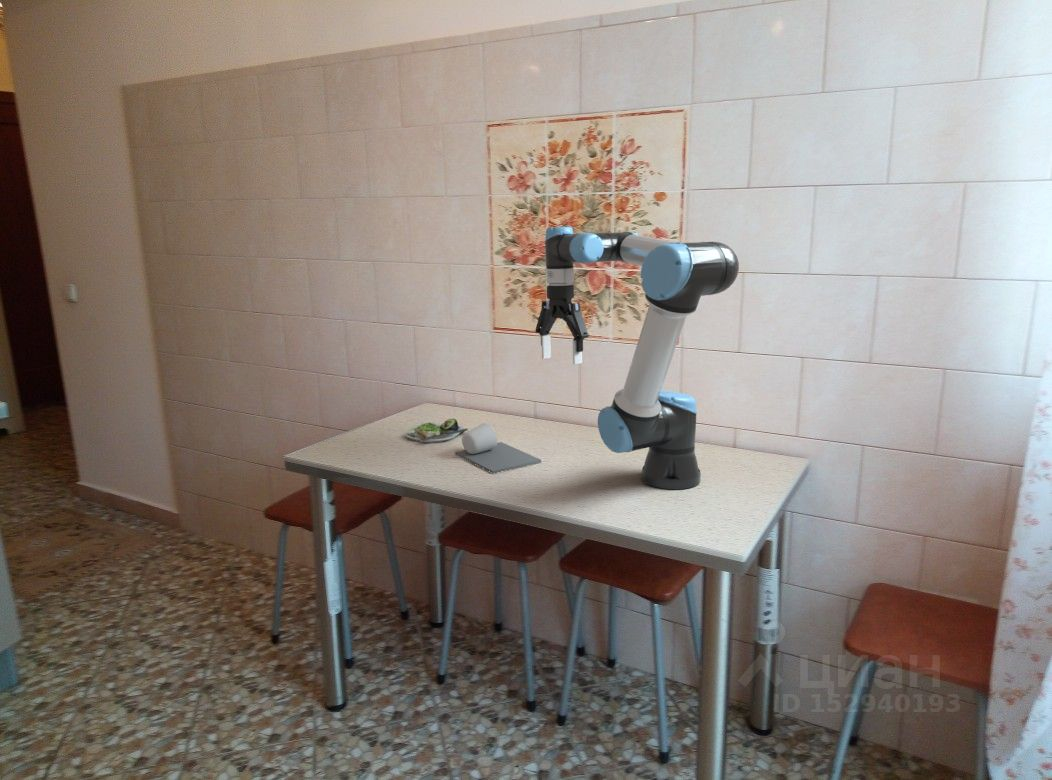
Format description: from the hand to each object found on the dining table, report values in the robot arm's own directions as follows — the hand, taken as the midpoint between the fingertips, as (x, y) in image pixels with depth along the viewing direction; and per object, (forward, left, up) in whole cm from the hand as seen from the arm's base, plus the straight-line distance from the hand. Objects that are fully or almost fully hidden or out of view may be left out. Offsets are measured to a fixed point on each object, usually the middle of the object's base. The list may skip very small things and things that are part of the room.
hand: (561, 360), depth 205 cm
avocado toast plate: (+41, +19, -29) cm, 54 cm away
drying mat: (+10, +16, -28) cm, 34 cm away
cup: (+16, +23, -25) cm, 37 cm away
